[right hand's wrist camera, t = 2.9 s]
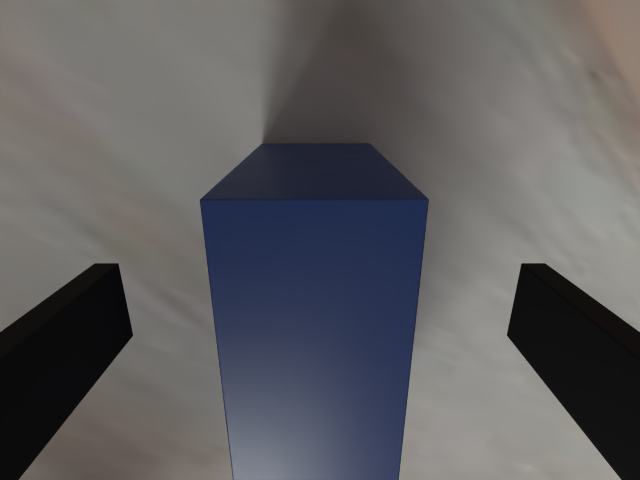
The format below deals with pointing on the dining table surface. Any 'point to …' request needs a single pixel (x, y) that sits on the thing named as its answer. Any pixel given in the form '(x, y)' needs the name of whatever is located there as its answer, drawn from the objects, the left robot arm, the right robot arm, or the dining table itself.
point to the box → (315, 309)
